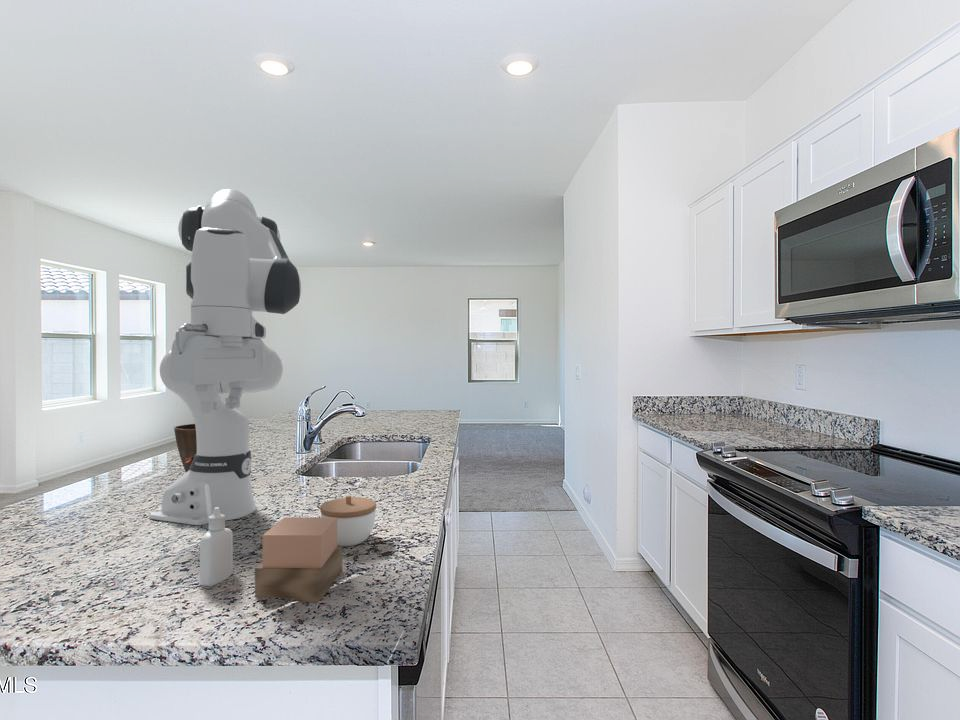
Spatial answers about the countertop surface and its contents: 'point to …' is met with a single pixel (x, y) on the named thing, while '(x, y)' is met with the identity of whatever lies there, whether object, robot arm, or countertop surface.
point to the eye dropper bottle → (216, 551)
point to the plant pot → (186, 443)
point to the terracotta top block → (300, 542)
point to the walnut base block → (298, 580)
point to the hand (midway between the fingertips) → (221, 410)
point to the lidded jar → (351, 518)
